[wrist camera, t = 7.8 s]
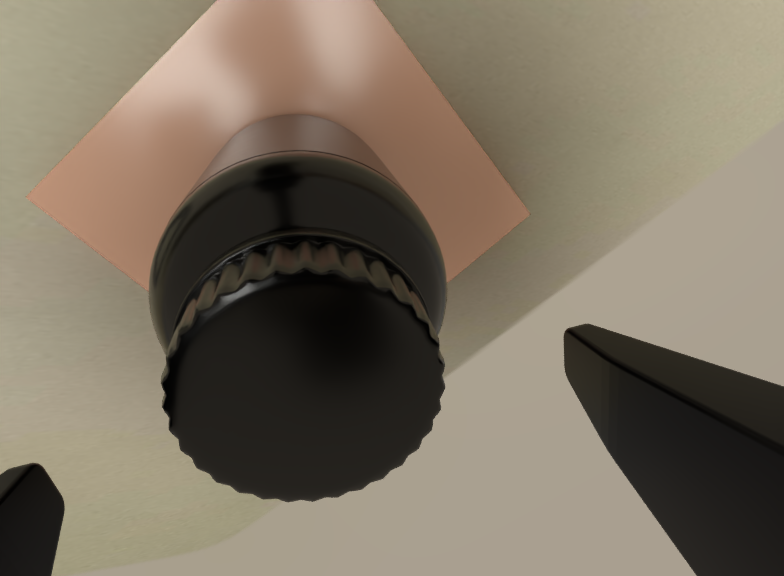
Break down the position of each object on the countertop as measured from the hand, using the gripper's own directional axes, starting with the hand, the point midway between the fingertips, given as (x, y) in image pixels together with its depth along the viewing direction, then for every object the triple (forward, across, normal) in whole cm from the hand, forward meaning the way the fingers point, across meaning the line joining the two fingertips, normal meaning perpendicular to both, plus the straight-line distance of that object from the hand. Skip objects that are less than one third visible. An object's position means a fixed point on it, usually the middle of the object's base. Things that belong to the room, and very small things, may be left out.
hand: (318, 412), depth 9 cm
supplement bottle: (+12, 0, 0) cm, 12 cm away
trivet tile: (+13, 0, 0) cm, 13 cm away
